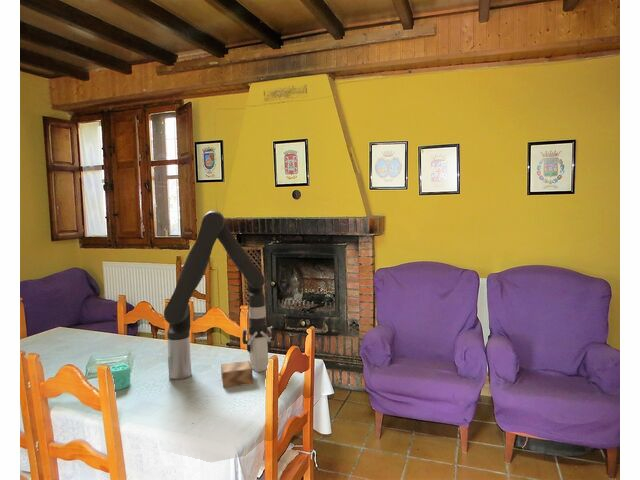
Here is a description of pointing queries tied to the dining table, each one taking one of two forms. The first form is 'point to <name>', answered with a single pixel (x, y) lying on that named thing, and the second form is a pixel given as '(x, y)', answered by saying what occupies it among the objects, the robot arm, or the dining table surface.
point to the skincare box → (259, 354)
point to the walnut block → (236, 373)
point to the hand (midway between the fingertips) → (259, 350)
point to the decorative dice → (121, 376)
